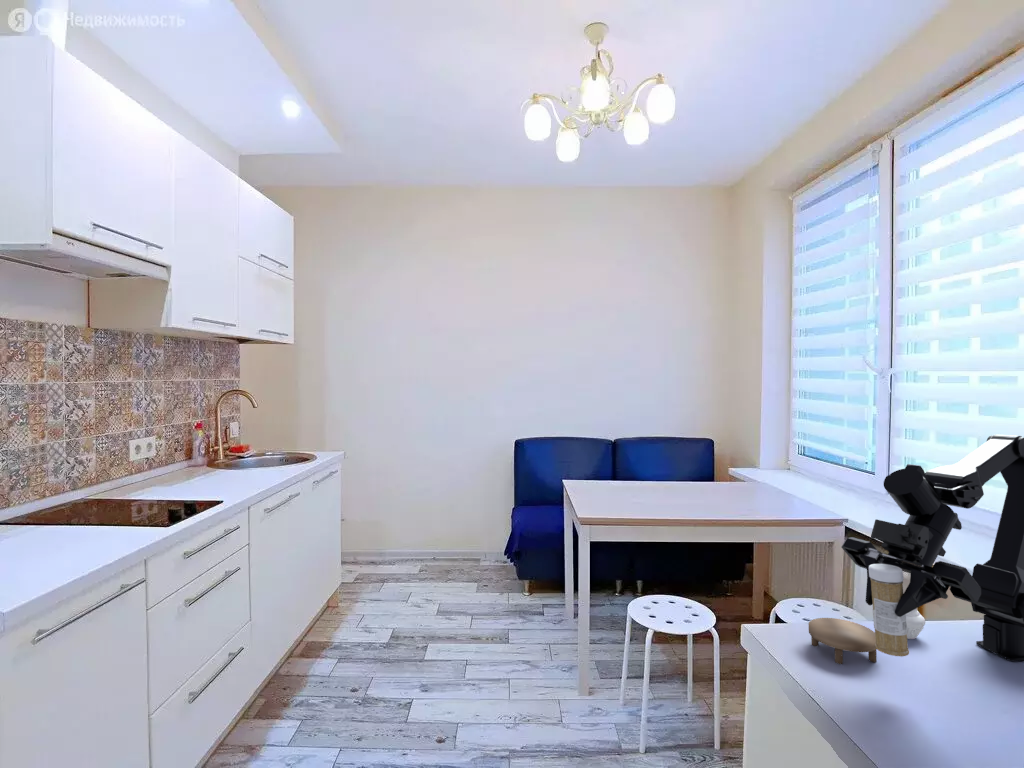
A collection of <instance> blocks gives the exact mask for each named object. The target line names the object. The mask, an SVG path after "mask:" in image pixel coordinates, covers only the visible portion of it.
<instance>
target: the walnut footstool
mask: <svg viewBox="0 0 1024 768" xmlns="http://www.w3.org/2000/svg"><path fill="white" fill-rule="evenodd" d="M808 634H809V635H810V637H811V638H810V639H811V645H812V646H813V647H819V646H820V645H819V643H821V644H823V645H826V646H827V647H831V648H833V649H834V662H835V663H836V664H838V665H843V664H844V653H843V652H844V651H846V652H853V653H868V654H867V655H868V661H869V660H870V662H871V663H877V662H878V661H877V658H878V657H877V649H876V647H875V643H876V640H875V630H872V629H871V628H869V627H867V626H865V625H863V624H860V623H857V622H854V621H851V620H846V619H842V618H836V617H835V618H834V617H820V618H819V617H818V618H815V619H812V620H810V621H809V622H808Z"/></svg>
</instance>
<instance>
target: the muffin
mask: <svg viewBox="0 0 1024 768" xmlns="http://www.w3.org/2000/svg"><path fill="white" fill-rule="evenodd" d="M906 624H907V640H915V639H917V637H919V634H921V632H922V631H923V629H924V626H925V625H926V619H925V617H924V616H923V615H922V614H921V613H920V612H919V611H918V608H916V609H914V610H912V611H911V612H909V613H907V614H906Z"/></svg>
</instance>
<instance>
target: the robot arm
mask: <svg viewBox="0 0 1024 768" xmlns="http://www.w3.org/2000/svg"><path fill="white" fill-rule="evenodd" d="M999 473H1000V475H1001V476H1002V478H1003V479H1004V481H1005V484H1006V486H1007V490H1006V494H1005V498H1004V501H1003V502H1004V503H1003V504H1002V505H1003V506H1002V509H1001V514H1000V515H1001V516H1000V518H999V523H998V526H997V531H996V535H995V540H994V543H993V547H992V551H991V554H990V555H991V556H990V558H989V559H988V560H987V561H985V562H984V563H983V564H982V563H976V564H975V565H974V566H973V569H972V574H971V573H970V572H969V570H968V569H967V567H964V566H960V565H956V564H953V563H948V562H945V561H942V560H939V561H936V560H937V558H938V556H940V557H943V558H944V556H945V555H946V553H947V551H946V549H945V548H944V547H943V546H944V545H945V543H946V541H947V539H948V537H949V536H950V534H951V532H952V530H953V529H955V530H959V531H960V530H962V529H963V527H962V522H961V520H960V519H959V514H958V513H956V512H955V511H954V510H953V509H952V507H956V508H963V509H971V508H974V506H975V505H976V504H977V503H978V502H979V501H980V500H981V498H983V497H984V495H985V494H984V489H983V486H984V485H985V484H986V483H988V481H990V480H992V478H994V477H995V476H996V475H998V474H999ZM883 487H884V489H885V491H886V492H887V493H888V494H889V496H890V497H891V498H892V499H893V501H894V502H895V503H896V504H897V506H898V507H899V508H900V510H901V511H902V512H904V513H905V514H906V515H909V516H908V518H907V519H906V521H905V523H904V524H902V523H894V522H890V521H886V520H881V519H875V520H874V523H873V528H872V531H871V534H870V538H871V539H874V540H875V539H876V540H878V541H880V542H881V547H882V549H884V550H885V551H888V552H887V553H884V552H882V551H880V550H878V549H877V548H876V547H875V546H874V544H873V543H872V541H868V540H864V539H861V538H858V537H857V538H856V537H852V536H851V537H847V538H846V539H845V540H844V542H843V544H842V545H841V549H842V550H843V551H844V552H845V553H846V555H847V556H848V558H850V559H851V561H852V562H853V563H854V564H855V565H857V567H860V568H863V569H866V588H865V603H866V604H867V605H868V606H873V603H872V590H871V580H870V577H869V565H871V564H888V565H893V566H897V567H899V568H901V569H902V571H903V573H908V574H910V577H909V584H908V585H907V587H906V589H905V590H904V591H903V596H902V597H901V599H900V601H899V603H898V604H897V607H896V610H895V614H896V615H897V616H899V617H901V616H903V615H905V614H907V613H909V612H911V611H912V610H914V609H916V608H917V609H918V608H919V607H922V606H924V605H926V604H928V603H931V602H935V601H936V600H938V599H945V600H947V599H948V598H949V595H948V594H947V591H948V590H949V591H950V592H951V594H952V596H953V597H954V598H956V599H959V600H963V601H965V602H969V603H970V604H971V605H970V606H971V608H972V611H973V612H975V613H979V614H983V623H982V640H977V641H975V644H976V645H977V646H979V647H981V648H983V649H985V650H987V651H989V652H992V653H994V654H995V655H997V656H999V657H1001V658H1002V659H1005V660H1007V661H1010V662H1019V661H1024V436H1022V435H1013V434H999V433H998V434H994V435H993V434H991V435H989V436H988V437H987V439H986V441H985V442H984V443H982V444H981V445H980V446H979V447H977V448H976V449H974V450H973V451H971V452H970V453H968V454H967V455H966V456H964V457H963V458H961V460H959V461H957V462H955V463H952V464H946V465H939V466H936V467H934V468H930V469H929V470H927V471H926V472H925V470H924V468H923V466H921V465H919V464H918V465H917V464H910V463H908V464H906V466H905V467H904V468H901V469H898V470H895V471H893V472H892V473H890V474H889V475H886V476H885V478H884V480H883Z"/></svg>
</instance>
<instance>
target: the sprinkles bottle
mask: <svg viewBox="0 0 1024 768" xmlns="http://www.w3.org/2000/svg"><path fill="white" fill-rule="evenodd" d="M869 577H870V580H871V590H872V603H873V604H872V622H873V628H874V632H875V640H876V643H875V647H876V651H877V650H878V651H879V652H881V653H884V654H886V655H889V656H892V657H893V656H894V657H906V656H909V654H910V649H909V645H908V639H907V624H906V614H905V615H903V616H901V617H899V616H897V615H896V614H895V610H896V607H897V604H898V603H899V601H900V599H901V597H902V596H903V594H904V586H903V585H904V579H905V578H904V571H902V569H901V568H899V567H897V566H893V565H888V564H871V565H869Z"/></svg>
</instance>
